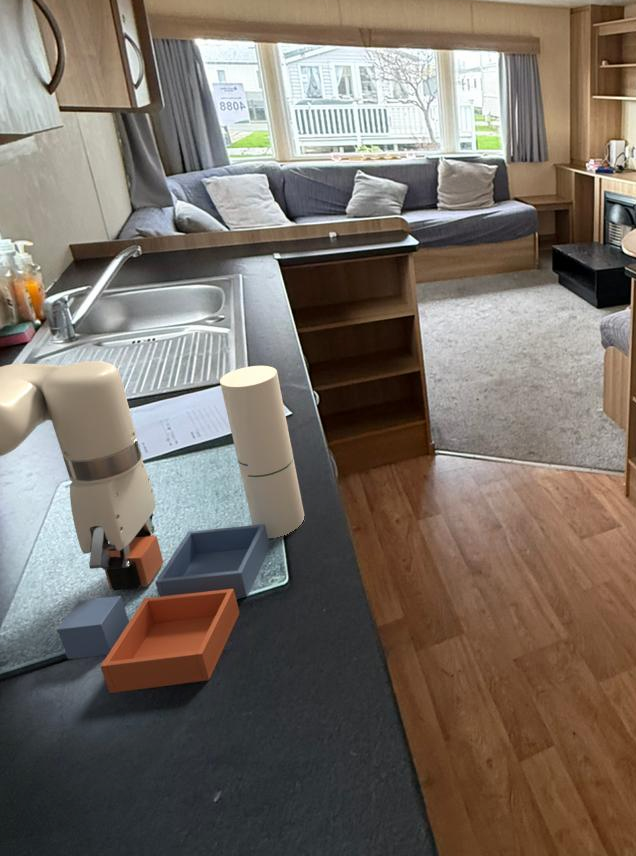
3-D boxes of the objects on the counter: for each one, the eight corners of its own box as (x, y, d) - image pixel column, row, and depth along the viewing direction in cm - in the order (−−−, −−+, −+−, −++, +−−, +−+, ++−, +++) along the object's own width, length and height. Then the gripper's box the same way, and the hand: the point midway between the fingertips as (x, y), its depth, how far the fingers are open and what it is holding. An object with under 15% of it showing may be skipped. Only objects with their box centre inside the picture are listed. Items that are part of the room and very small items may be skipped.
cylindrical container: (283, 504, 104) (254, 362, 95) (315, 517, 101) (288, 371, 92) (243, 530, 98) (208, 380, 89) (275, 544, 95) (242, 390, 86)
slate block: (67, 659, 76) (56, 629, 74) (89, 629, 80) (78, 600, 79) (111, 654, 77) (100, 624, 75) (130, 624, 81) (120, 595, 79)
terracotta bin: (109, 693, 72) (100, 666, 70) (152, 623, 81) (144, 598, 80) (209, 680, 74) (201, 653, 72) (239, 613, 83) (233, 588, 81)
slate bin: (162, 606, 84) (155, 582, 82) (194, 554, 93) (188, 531, 92) (247, 597, 85) (241, 572, 84) (269, 546, 95) (265, 523, 93)
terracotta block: (110, 589, 86) (101, 561, 84) (127, 565, 90) (119, 538, 88) (148, 585, 86) (140, 557, 85) (163, 562, 91) (156, 535, 89)
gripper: (106, 427, 89) (137, 537, 95) (27, 499, 73) (70, 625, 80) (166, 424, 90) (192, 532, 97) (101, 494, 75) (137, 618, 81)
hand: (137, 573), depth 88 cm, fingers closed on terracotta block, 4 cm apart
